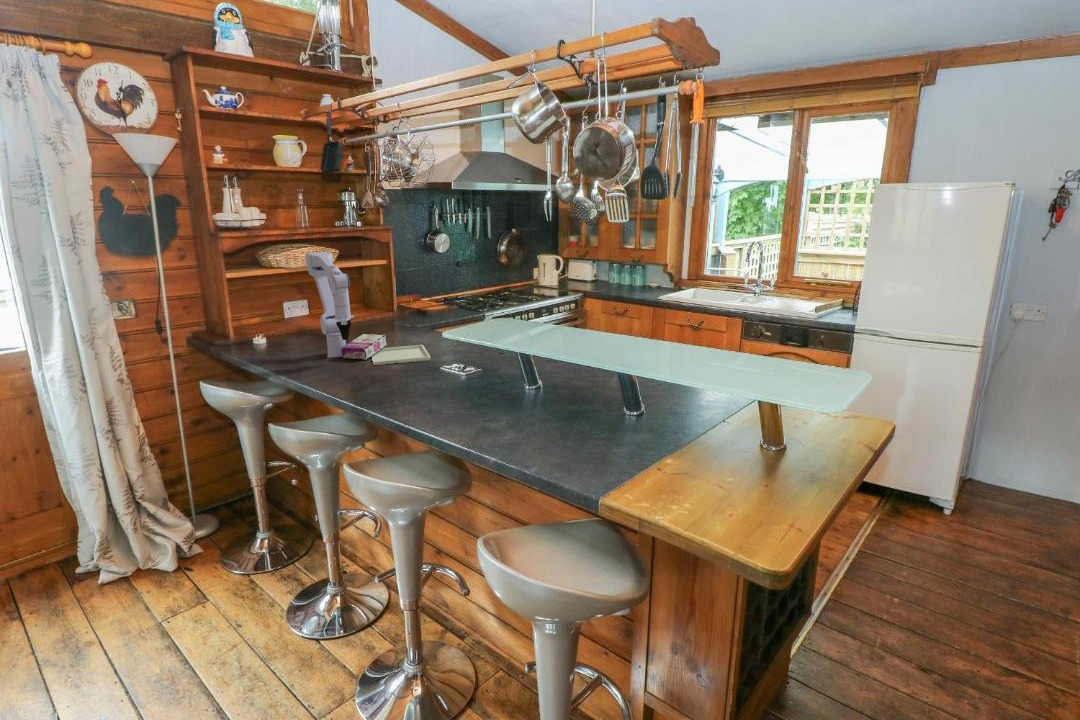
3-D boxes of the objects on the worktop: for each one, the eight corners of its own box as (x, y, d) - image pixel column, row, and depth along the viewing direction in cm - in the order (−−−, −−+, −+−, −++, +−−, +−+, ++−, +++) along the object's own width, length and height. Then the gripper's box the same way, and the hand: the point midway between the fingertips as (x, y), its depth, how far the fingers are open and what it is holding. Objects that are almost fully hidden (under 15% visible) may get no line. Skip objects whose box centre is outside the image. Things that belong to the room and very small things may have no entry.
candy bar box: (366, 360, 235) (387, 345, 250) (364, 349, 233) (385, 334, 248) (342, 359, 239) (364, 344, 253) (340, 347, 237) (362, 333, 251)
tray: (370, 352, 247) (370, 349, 247) (423, 348, 254) (422, 344, 254) (373, 365, 227) (373, 362, 227) (430, 360, 234) (430, 356, 234)
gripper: (353, 307, 223) (356, 342, 227) (351, 301, 237) (355, 334, 240) (333, 309, 221) (337, 344, 225) (333, 303, 234) (336, 336, 238)
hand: (345, 339), depth 232 cm, fingers closed
